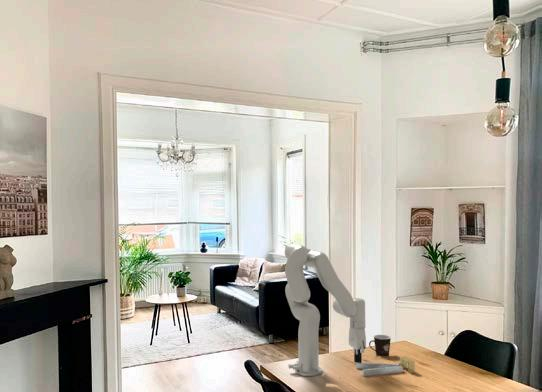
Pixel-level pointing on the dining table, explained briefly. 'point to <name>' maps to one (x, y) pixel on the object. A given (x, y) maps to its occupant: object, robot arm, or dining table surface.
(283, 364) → the dining table surface
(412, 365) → the beige textured block
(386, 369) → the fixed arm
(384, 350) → the coffee mug
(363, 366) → the grey rod
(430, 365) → the dining table surface
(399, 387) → the dining table surface
